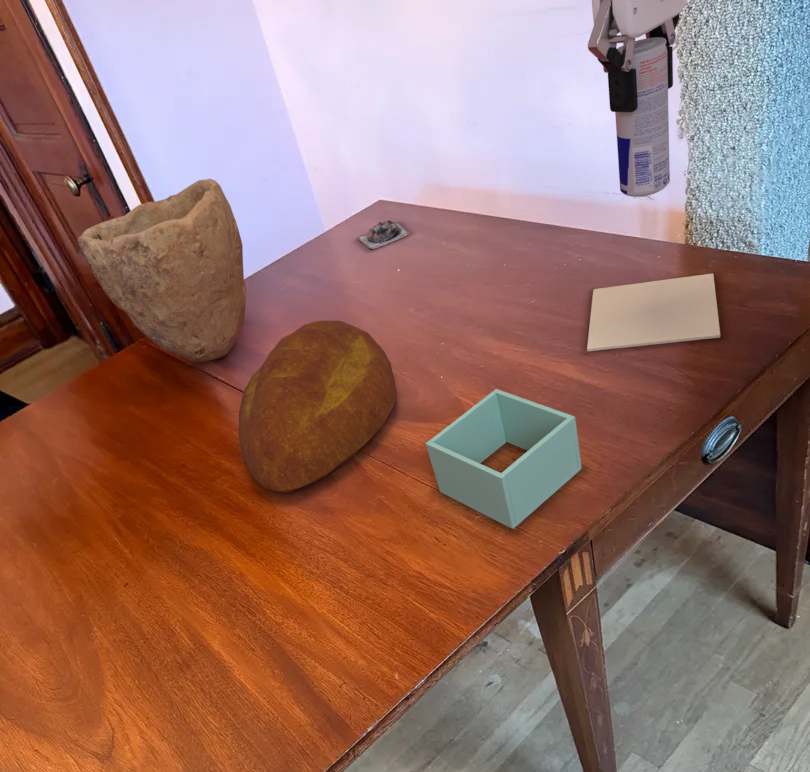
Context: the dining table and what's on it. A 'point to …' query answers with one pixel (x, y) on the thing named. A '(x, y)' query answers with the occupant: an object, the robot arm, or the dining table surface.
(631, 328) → the mat
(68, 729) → the dining table surface
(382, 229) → the rusty domed plate
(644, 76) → the beverage can
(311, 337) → the bread
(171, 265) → the bowl
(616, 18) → the robot arm
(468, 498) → the open square box
